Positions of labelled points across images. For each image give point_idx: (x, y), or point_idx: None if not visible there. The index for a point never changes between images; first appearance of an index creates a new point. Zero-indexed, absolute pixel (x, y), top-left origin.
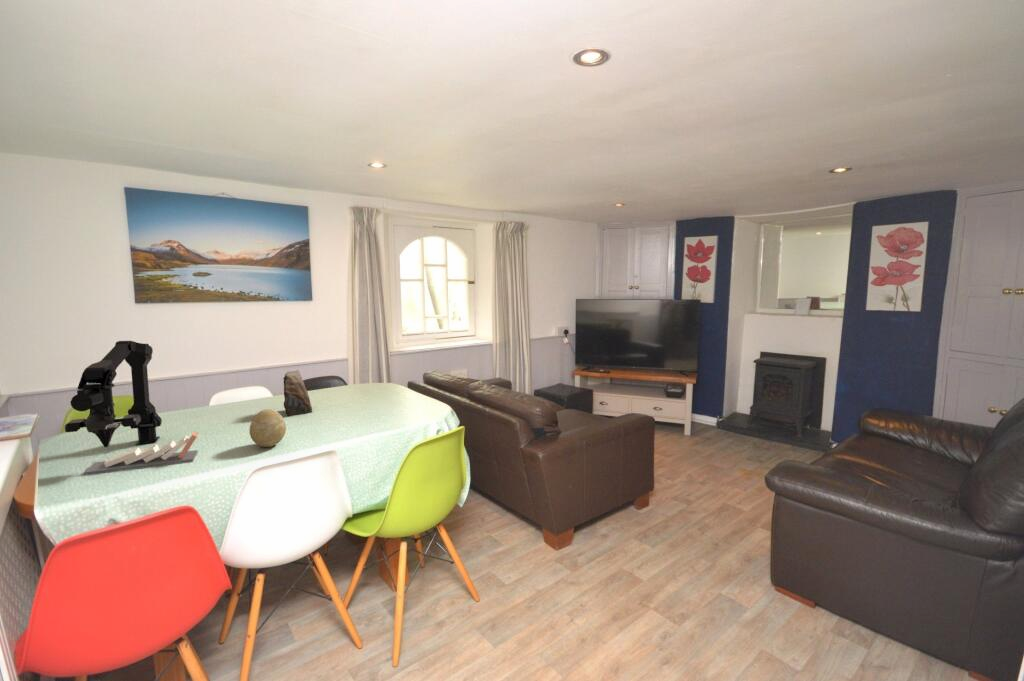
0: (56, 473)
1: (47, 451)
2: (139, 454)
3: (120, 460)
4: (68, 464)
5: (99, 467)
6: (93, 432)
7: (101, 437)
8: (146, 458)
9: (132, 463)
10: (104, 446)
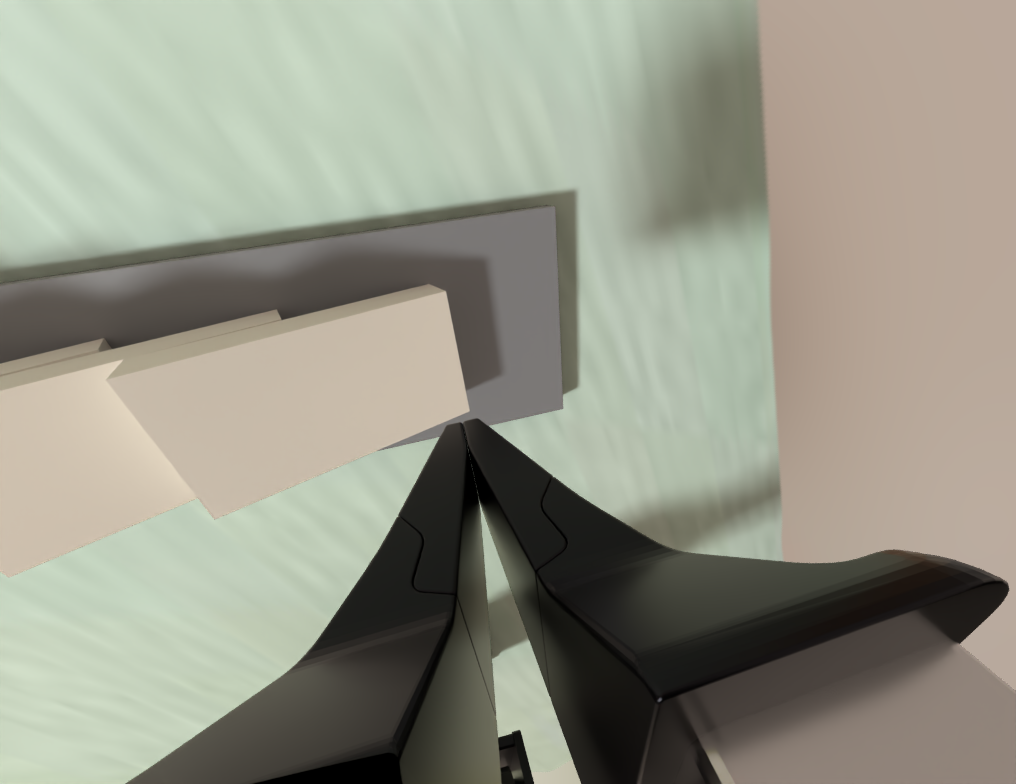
0: (721, 297)
1: (779, 554)
2: (82, 370)
3: (306, 318)
4: (690, 425)
5: (486, 298)
6: (765, 570)
7: (526, 507)
8: (57, 356)
9: None
10: (477, 422)
